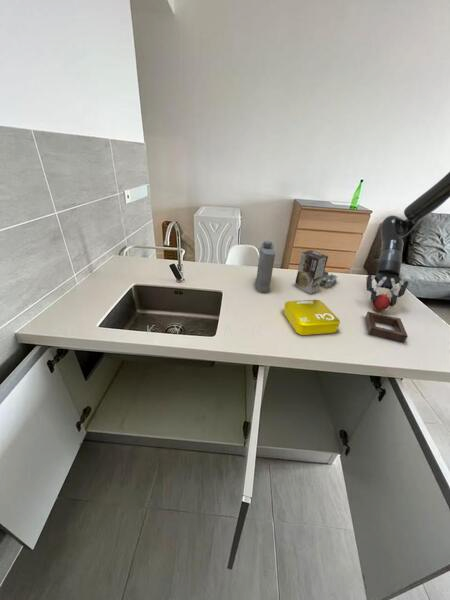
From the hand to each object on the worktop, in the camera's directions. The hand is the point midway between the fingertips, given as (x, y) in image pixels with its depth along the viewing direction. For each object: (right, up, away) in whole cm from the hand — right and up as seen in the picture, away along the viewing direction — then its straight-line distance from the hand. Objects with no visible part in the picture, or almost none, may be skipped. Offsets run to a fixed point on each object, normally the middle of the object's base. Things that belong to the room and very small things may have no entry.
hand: (382, 303), depth 92 cm
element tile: (-30, -6, -5) cm, 31 cm away
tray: (-4, -9, -7) cm, 12 cm away
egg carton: (-12, +10, +23) cm, 28 cm away
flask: (-43, +8, +18) cm, 47 cm away
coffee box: (-23, +7, +17) cm, 30 cm away
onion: (0, -3, +4) cm, 5 cm away
